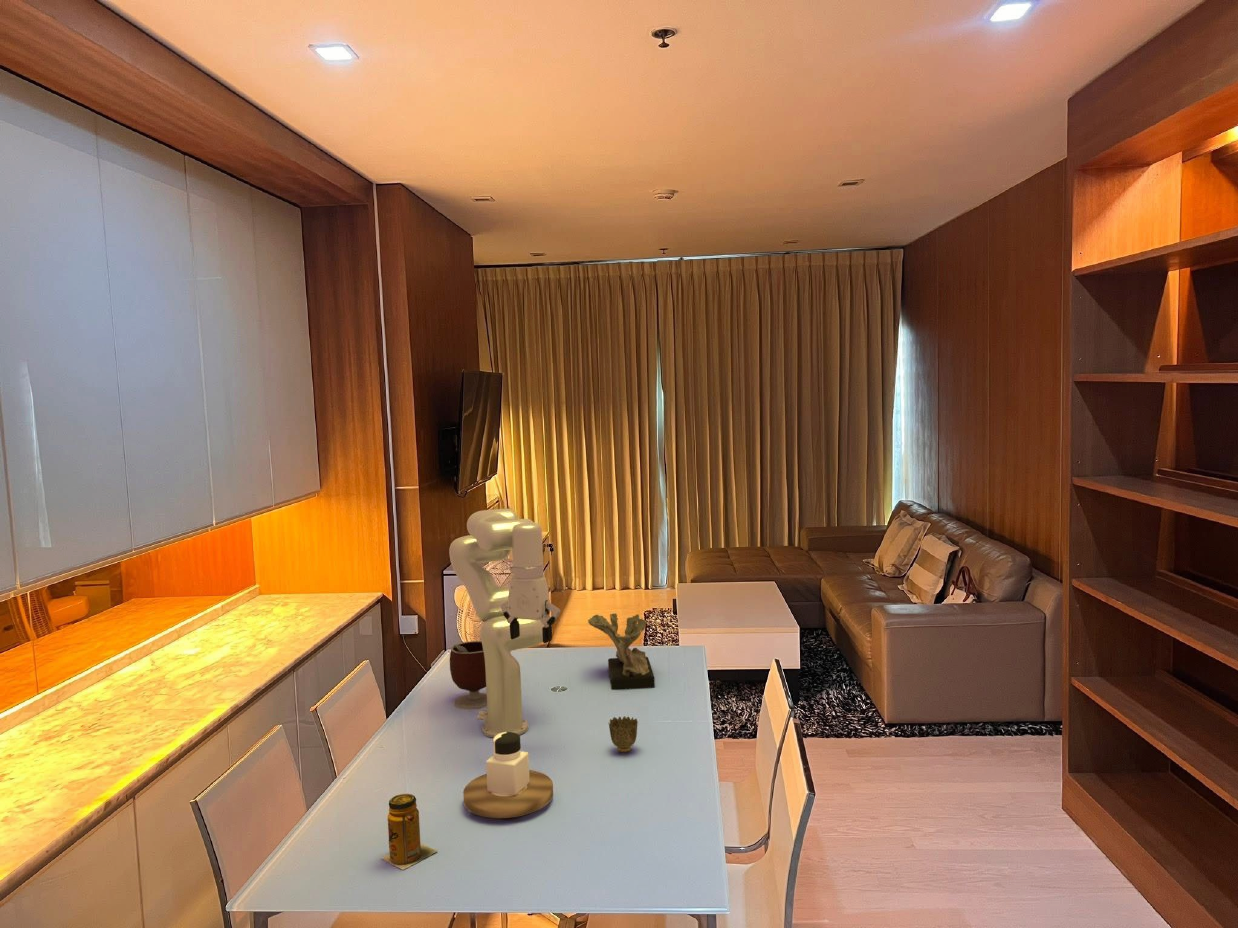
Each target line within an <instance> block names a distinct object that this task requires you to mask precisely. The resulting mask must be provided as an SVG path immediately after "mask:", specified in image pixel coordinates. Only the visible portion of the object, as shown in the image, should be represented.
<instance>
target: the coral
mask: <svg viewBox="0 0 1238 928" xmlns="http://www.w3.org/2000/svg"><path fill="white" fill-rule="evenodd" d="M609 617H610V618H609V620H610V622H609V621H608V619H607V618H606V617H604V616H603V615H599V614H594V615H593V616H592V617H590V618H589V619H587V620H588V621H587V622H588V624H589V625H590V626H592V627H593V628H595V629H598V630H600V631H601V632H603V633H604V634H605V635H607V636H608V637H609V638H610V640H611V641H612V642H613V644H614V646H615V648H616V652H615V657H613V658H608V660H607V665H608V668H607V669H608V674H609V681H610V689H611V691H612V690H613V691H617V690H631V689H632V690H634V689H635V690H636V689H638V690H639V689H652V688H655V685H656V684H655V681H656V680H655V673H654V671H653V669H652V665H651V661H650V659H649V657H648V656H647V655H646V651H642V650H639V649H638V648H637V647H634V648H632V649H631V648H630V646H631V645H632V644H633V643H634V642H635V641H637V639H639V638H640V636H641V633H642V632H644V630H645V628H646V624H647V620H646V619H644V618H640V614H635V615H632V616H631V617H630V616H629V617H627V618H626V624H625V625H626V627H625V630H624V634H625V635H622V636H621V634H619V633H618V630H619V623H618V620H619V619H618V614H617V613H610V614H609Z"/></svg>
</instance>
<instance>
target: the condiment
mask: <svg viewBox="0 0 1238 928" xmlns="http://www.w3.org/2000/svg"><path fill="white" fill-rule="evenodd" d="M417 806H418V805H417V798H416V796H415V795H413V794H412V793H401V794H397V795H395V796H392V797H391V798H390V799H389V801H388V814H387V830H388V831H387V832H388V848H389V849H388V851H389V854H387V855H385V856H383V857H381V860H383V861H384V862H386V863H389V865H392V866H394V867H396V868H398V869H401V870H402V871H404V870H406V869H408V868H410V867H412V866H413V865H416V864H417V863H419V862H421V861H423V860H424V859H425V858H428V857H430V856H432V855H433V854H434V853H437V852H438V850H437V849H434V848H432V847H429V846H427V845H425V844H424V843H421V829H420V828H421V827H420V811H419V809H418V808H417Z"/></svg>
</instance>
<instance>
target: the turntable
mask: <svg viewBox="0 0 1238 928" xmlns="http://www.w3.org/2000/svg"><path fill="white" fill-rule="evenodd" d="M529 779H530V782H529V783H528V784H527V785H526V786H525V787H524V788H523V789H522V790H521V791H519V792H518V793H517V794H516V795H515V796H514V795H507V794H501V793H494V792H488V790H487V773H484V774H482V775H479V776H477V777H475V778H474V779H472V780H471V781H470V782H468V783H467V784H466V785H465V787H464V788H463V792H462V793H463V794H462V796H463V805H464V807H465V809H467V810H468V811H469V812H470V813H472V814H474V815H476V816H479V817H484V818H489V819H490V818H491V819H512V818H511V817H513V818H517V817H518V816H519V817H521V816H522V817H523V816H525V815H528V814H533V813H534V812H538V811H539V810H541V809H543V808H544V807H546V806H547V805H549V803H550V802H551V801H552V799H553V797H554V783H553V780H552V779H551V778H550V776H548V775H547V774H545V773H543V772H540V771H538V770H537V771H536V770H532V769H529Z"/></svg>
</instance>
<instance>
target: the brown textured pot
mask: <svg viewBox="0 0 1238 928" xmlns="http://www.w3.org/2000/svg"><path fill="white" fill-rule="evenodd" d="M638 722H639V721H638V719H637V718H634V717H632V718H630V716H627V717H626V716H625V715H624V716H623V717H621V716H618V717H615V716H614V717H613V718H612V719H611V718H610V719H609V722H608V728H609V733H610V734H609V735H610V739H611V742H612V744H613V745H614V746H615V747H616V751H617V752H618V753H619V754H622V753H625V754H629V753H630V752H631V751H632V746H634V744H635V743H636V740H637V735H638V724H639V723H638ZM628 752H629V753H628Z"/></svg>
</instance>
